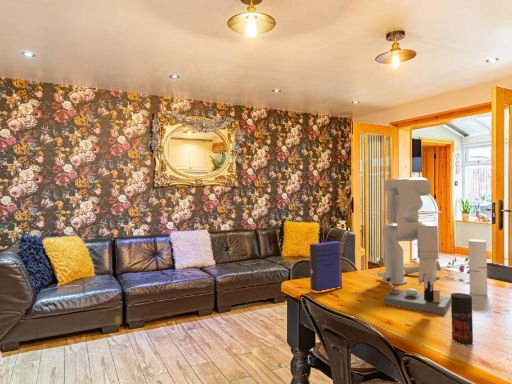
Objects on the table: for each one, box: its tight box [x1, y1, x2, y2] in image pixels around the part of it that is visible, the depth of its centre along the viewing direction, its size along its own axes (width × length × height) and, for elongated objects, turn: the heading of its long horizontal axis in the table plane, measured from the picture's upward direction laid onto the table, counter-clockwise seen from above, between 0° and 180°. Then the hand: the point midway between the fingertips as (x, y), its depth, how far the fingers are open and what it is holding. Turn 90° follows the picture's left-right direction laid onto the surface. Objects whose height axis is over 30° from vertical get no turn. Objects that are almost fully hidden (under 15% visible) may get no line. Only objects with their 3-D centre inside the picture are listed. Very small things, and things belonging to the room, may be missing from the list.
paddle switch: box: [432, 288, 441, 303], centre depth 148 cm, size 5×2×5 cm, turn 53°
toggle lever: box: [386, 277, 395, 291], centre depth 161 cm, size 2×2×6 cm
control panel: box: [382, 288, 451, 316], centre depth 154 cm, size 24×16×4 cm, turn 53°
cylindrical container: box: [468, 239, 488, 296], centre depth 169 cm, size 7×7×25 cm
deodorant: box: [450, 292, 474, 345], centre depth 116 cm, size 6×6×15 cm
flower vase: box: [404, 256, 469, 279], centre depth 201 cm, size 12×12×35 cm
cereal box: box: [309, 240, 343, 291], centre depth 180 cm, size 17×5×24 cm, turn 123°
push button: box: [405, 287, 418, 296], centre depth 155 cm, size 4×4×2 cm
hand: (429, 300), depth 141 cm, fingers closed
